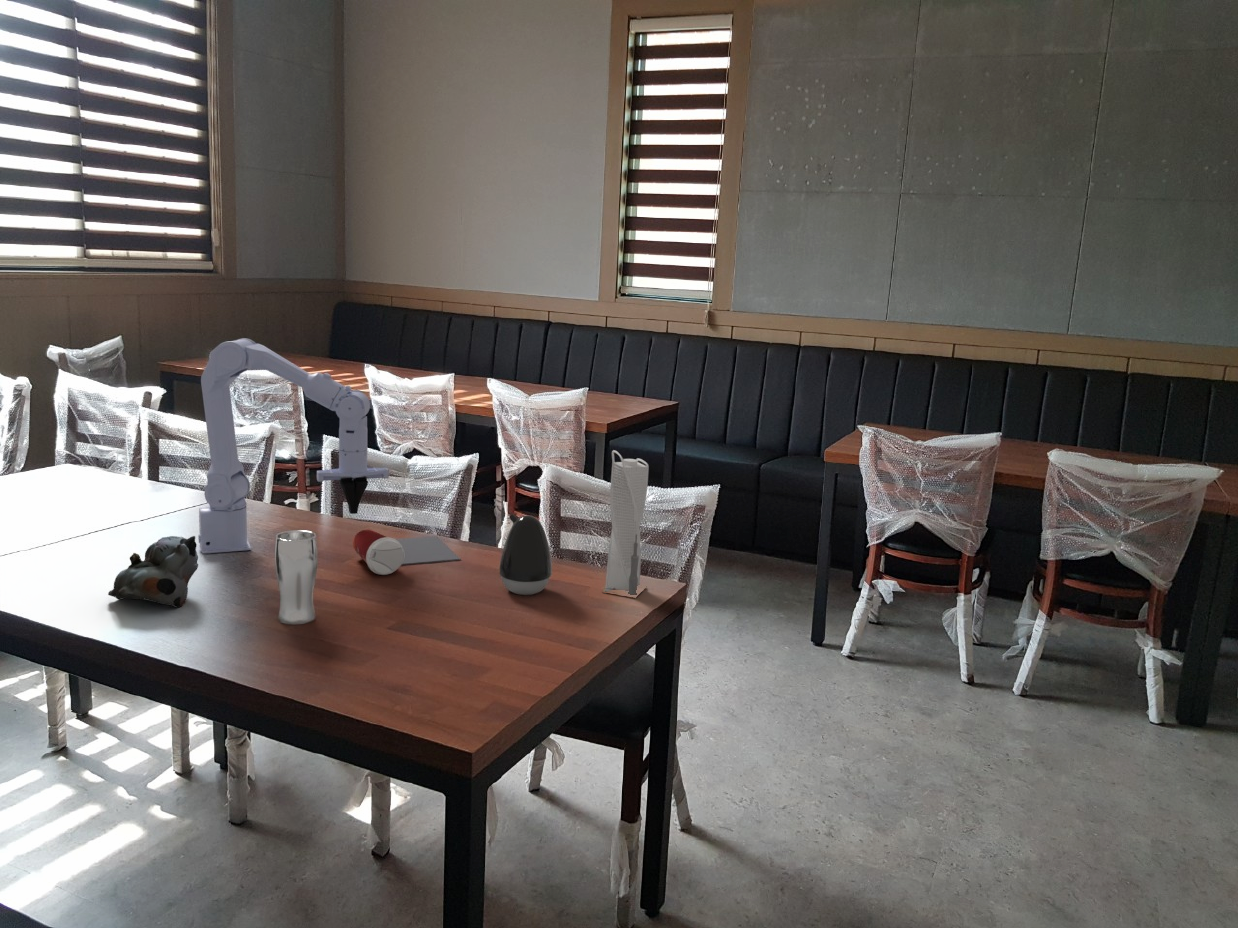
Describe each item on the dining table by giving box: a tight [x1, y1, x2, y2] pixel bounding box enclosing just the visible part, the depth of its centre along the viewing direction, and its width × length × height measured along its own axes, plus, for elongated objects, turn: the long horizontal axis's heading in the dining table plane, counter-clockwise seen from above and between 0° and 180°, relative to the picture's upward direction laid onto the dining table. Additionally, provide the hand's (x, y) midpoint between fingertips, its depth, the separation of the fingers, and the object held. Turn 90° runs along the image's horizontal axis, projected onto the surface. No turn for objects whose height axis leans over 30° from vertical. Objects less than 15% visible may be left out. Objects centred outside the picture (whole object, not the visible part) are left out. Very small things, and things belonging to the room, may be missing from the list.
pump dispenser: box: [498, 513, 553, 596], centre depth 183 cm, size 10×10×15 cm
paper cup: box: [352, 528, 405, 576], centre depth 193 cm, size 8×8×14 cm
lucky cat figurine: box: [107, 535, 199, 609], centre depth 167 cm, size 15×12×14 cm
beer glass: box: [274, 529, 319, 626], centre depth 162 cm, size 7×7×15 cm
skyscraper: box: [601, 449, 650, 595], centre depth 186 cm, size 8×8×28 cm
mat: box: [395, 535, 462, 566], centre depth 205 cm, size 18×18×1 cm
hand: (353, 512), depth 200 cm, fingers closed
